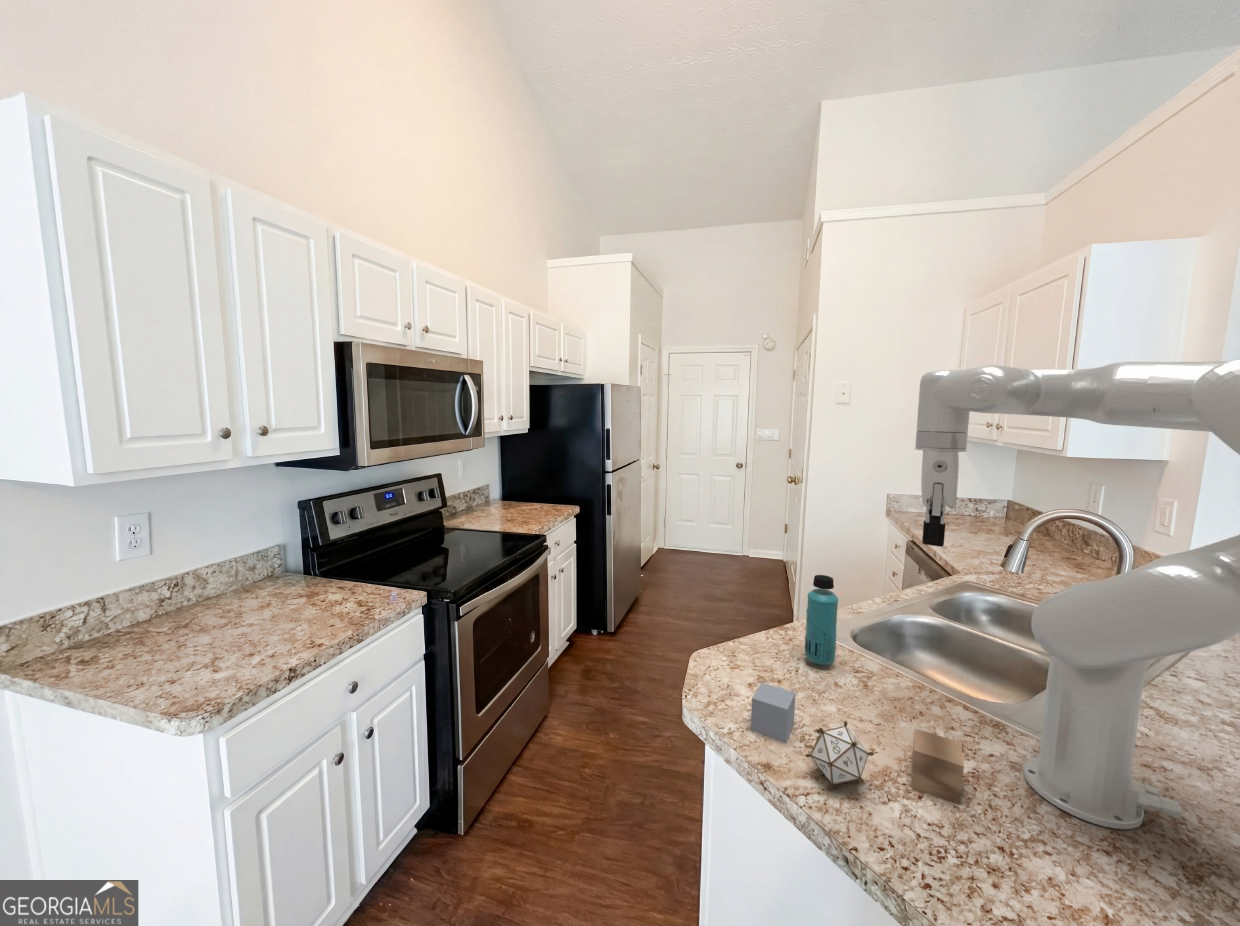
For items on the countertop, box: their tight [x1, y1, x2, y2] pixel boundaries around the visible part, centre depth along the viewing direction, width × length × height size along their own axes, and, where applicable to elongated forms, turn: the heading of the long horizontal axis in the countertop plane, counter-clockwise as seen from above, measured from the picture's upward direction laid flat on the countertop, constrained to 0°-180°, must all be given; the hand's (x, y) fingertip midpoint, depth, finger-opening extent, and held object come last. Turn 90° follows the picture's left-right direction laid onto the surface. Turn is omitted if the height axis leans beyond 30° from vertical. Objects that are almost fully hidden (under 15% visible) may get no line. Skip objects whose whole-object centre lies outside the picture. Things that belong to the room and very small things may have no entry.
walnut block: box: [910, 727, 965, 806], centre depth 72 cm, size 6×6×6 cm
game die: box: [804, 720, 875, 791], centre depth 73 cm, size 9×8×10 cm
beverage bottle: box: [803, 574, 839, 665], centre depth 106 cm, size 6×7×20 cm
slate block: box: [750, 682, 796, 744], centre depth 85 cm, size 6×6×6 cm
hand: (932, 544), depth 87 cm, fingers closed
